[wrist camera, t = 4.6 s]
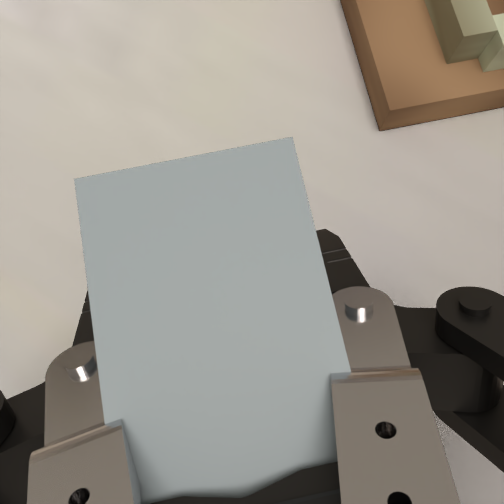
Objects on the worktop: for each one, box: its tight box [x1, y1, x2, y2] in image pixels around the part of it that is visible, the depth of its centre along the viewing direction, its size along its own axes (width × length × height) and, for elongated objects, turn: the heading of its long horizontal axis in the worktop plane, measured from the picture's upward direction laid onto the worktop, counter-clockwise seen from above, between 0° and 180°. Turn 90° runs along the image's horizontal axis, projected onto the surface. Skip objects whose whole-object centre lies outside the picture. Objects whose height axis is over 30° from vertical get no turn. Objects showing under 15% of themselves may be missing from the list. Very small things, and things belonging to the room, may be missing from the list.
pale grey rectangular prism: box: [74, 137, 351, 504], centre depth 12 cm, size 4×5×10 cm
